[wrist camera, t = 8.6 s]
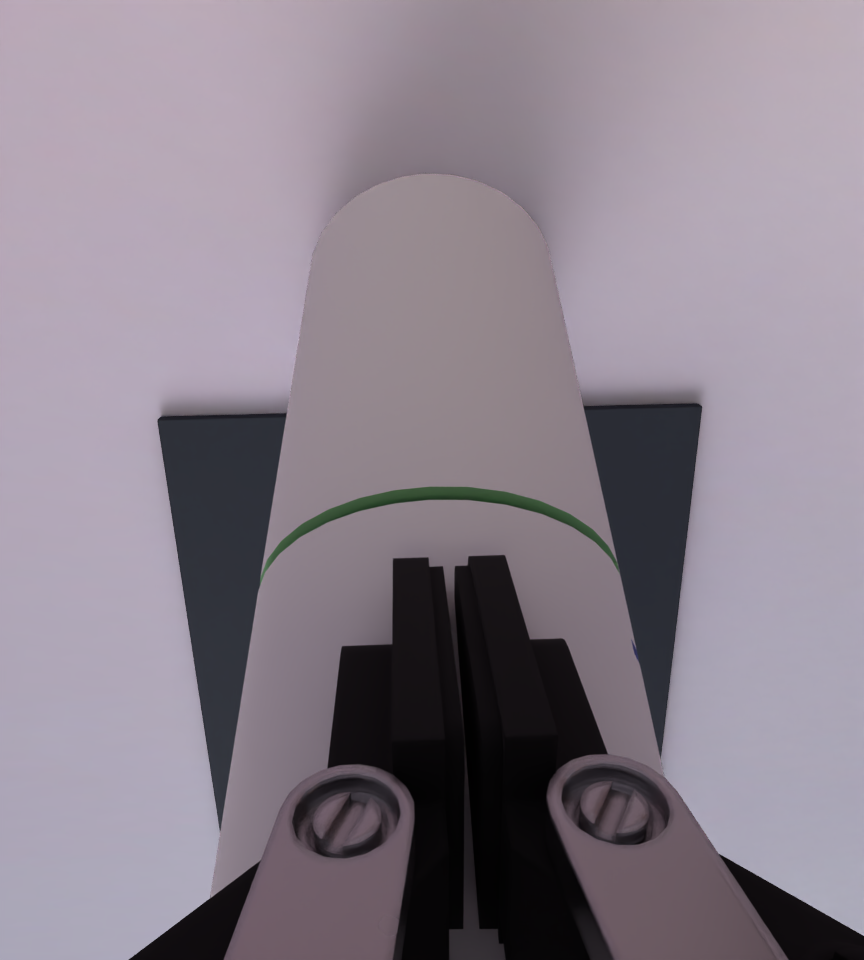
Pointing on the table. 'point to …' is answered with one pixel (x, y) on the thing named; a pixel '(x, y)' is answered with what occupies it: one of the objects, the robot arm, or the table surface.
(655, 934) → the robot arm
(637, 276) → the table surface
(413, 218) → the cylindrical container
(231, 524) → the desk mat
